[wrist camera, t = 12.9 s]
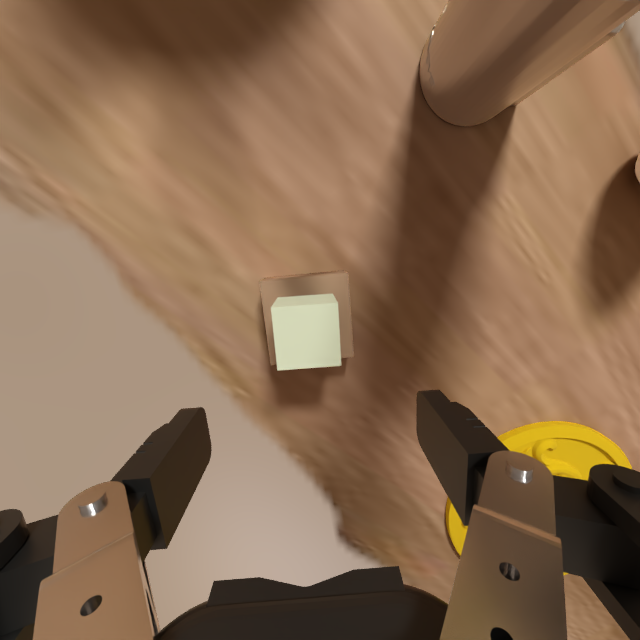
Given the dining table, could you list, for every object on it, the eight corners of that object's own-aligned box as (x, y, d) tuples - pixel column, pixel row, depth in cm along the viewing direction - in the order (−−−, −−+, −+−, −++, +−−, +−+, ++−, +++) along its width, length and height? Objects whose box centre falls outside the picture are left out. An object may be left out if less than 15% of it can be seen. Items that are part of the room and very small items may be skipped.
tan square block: (343, 270, 30) (348, 272, 27) (348, 344, 32) (354, 356, 28) (265, 277, 30) (259, 281, 26) (275, 351, 32) (270, 365, 28)
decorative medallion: (530, 599, 42) (541, 616, 40) (406, 519, 38) (411, 534, 36) (662, 483, 38) (681, 496, 36) (539, 382, 34) (553, 390, 32)
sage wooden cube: (332, 293, 27) (338, 302, 22) (335, 346, 28) (341, 365, 23) (277, 297, 27) (270, 307, 22) (282, 349, 28) (277, 370, 23)
